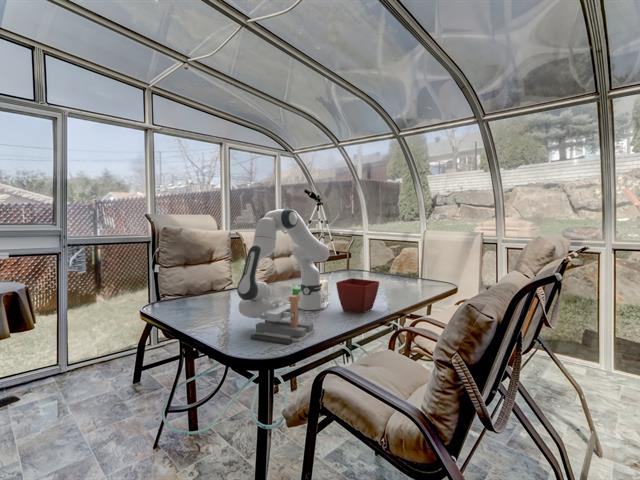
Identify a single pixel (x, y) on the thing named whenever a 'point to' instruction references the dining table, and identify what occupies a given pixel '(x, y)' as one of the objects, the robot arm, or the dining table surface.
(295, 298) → the breaker handle
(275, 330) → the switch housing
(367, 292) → the plant pot
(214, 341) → the dining table surface
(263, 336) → the twin grey rods
